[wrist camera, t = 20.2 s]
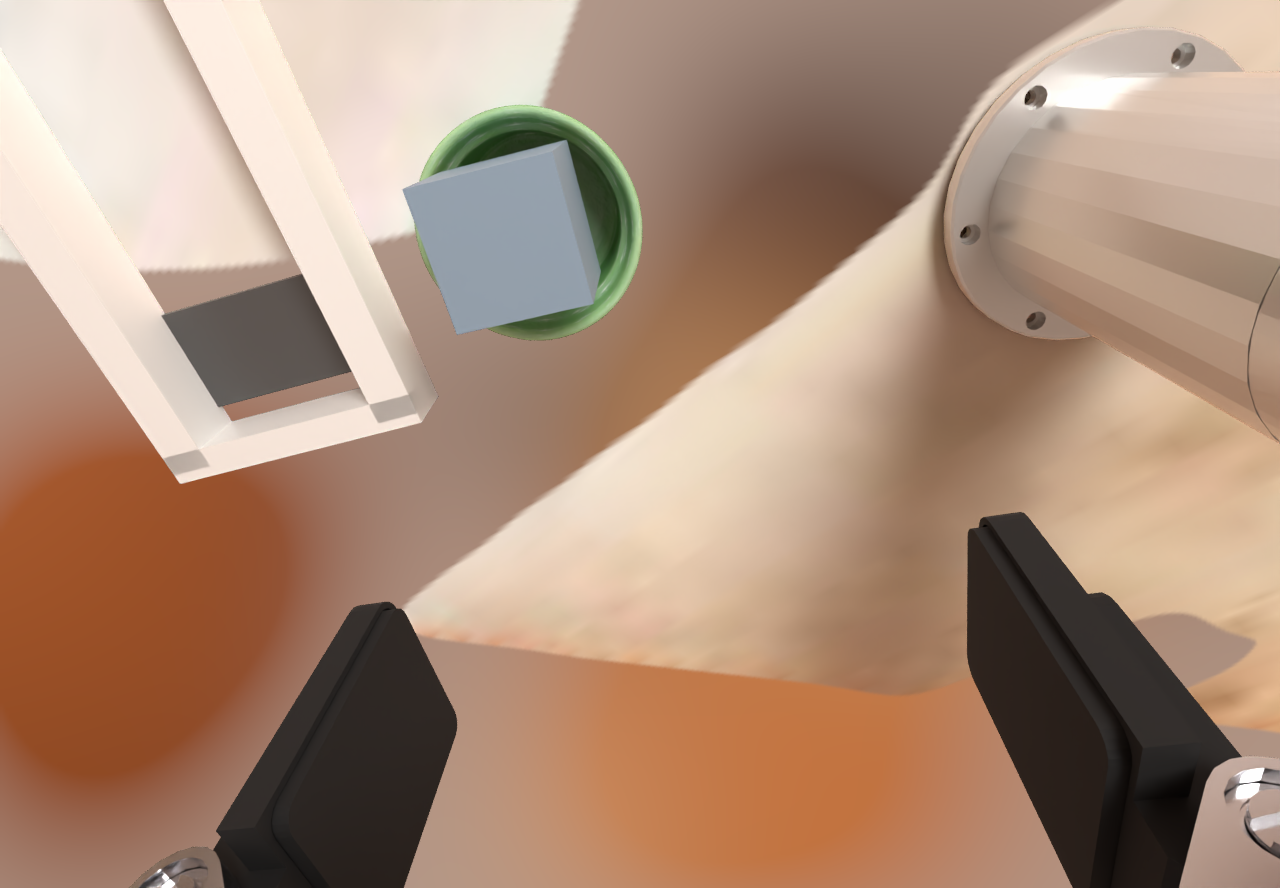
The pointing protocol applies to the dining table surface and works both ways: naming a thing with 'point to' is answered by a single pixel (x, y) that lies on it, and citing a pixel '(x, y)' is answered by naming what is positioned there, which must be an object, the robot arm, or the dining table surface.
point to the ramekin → (601, 192)
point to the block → (507, 237)
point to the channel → (241, 322)
